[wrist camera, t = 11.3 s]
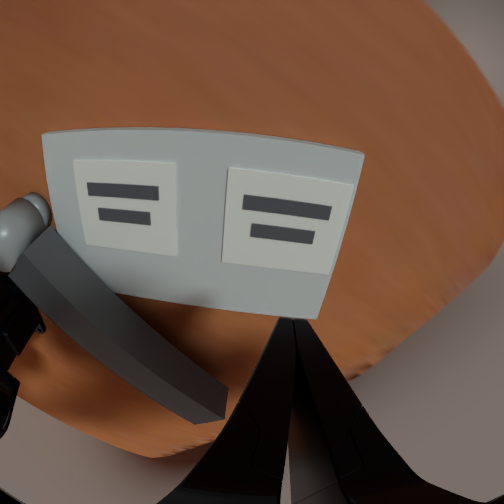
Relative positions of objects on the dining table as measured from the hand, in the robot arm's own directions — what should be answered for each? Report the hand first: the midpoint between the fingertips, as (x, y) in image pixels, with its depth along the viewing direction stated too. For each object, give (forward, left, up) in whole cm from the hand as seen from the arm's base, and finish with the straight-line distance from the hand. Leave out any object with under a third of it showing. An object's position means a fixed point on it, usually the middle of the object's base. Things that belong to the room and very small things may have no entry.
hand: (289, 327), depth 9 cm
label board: (-7, -1, -7) cm, 10 cm away
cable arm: (-9, -7, -6) cm, 13 cm away
